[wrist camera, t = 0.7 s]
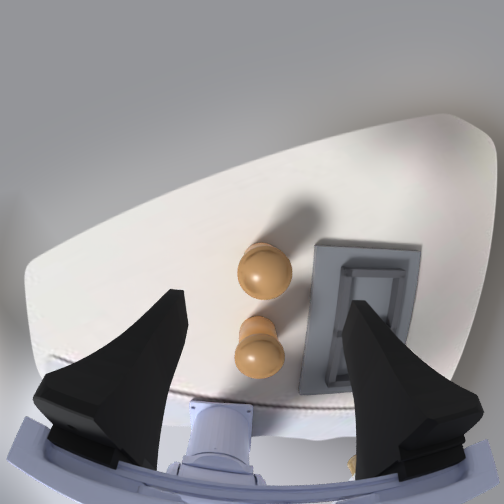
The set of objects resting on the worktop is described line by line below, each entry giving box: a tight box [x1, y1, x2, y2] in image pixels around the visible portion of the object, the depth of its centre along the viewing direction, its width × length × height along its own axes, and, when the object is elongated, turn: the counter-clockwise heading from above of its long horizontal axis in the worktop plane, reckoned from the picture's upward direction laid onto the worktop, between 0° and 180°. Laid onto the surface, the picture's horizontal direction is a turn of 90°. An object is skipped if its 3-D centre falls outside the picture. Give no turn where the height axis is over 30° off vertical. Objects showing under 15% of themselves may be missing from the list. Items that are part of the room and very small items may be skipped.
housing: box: [299, 245, 421, 395], centre depth 30 cm, size 18×13×2 cm
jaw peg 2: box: [235, 316, 285, 379], centre depth 28 cm, size 5×5×6 cm
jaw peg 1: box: [237, 243, 292, 300], centre depth 27 cm, size 5×5×6 cm
